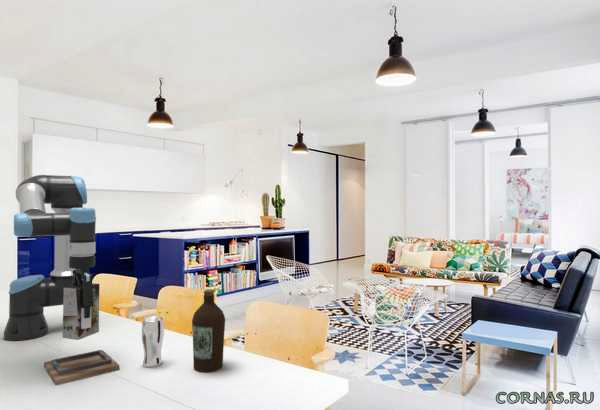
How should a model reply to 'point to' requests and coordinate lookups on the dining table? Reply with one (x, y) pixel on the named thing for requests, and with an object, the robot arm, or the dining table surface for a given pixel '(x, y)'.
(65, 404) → the dining table surface
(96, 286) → the coffee box
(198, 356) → the olive oil
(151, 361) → the beer glass
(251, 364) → the dining table surface
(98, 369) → the pocket board
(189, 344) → the dining table surface
